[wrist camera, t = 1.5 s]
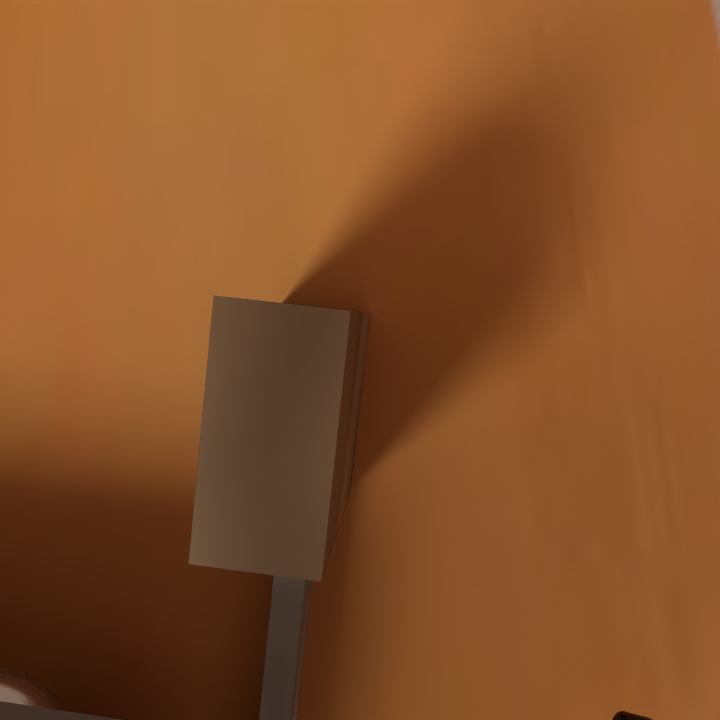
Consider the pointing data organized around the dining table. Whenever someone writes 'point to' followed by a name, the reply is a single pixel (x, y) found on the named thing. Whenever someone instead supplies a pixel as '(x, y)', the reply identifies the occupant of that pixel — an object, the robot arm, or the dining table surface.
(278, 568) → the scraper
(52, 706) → the steel token
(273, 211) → the dining table surface
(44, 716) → the grey rectangular block
